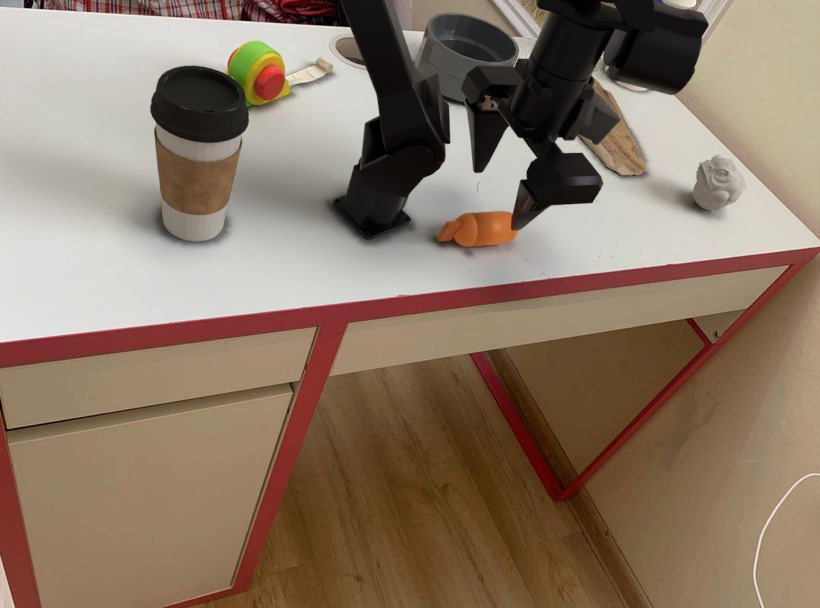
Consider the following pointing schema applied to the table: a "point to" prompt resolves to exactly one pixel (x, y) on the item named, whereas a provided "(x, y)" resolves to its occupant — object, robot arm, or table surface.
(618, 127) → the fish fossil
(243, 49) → the toy measuring tape
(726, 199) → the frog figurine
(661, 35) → the robot arm
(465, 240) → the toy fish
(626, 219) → the table surface
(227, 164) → the coffee cup
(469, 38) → the grey round pot
